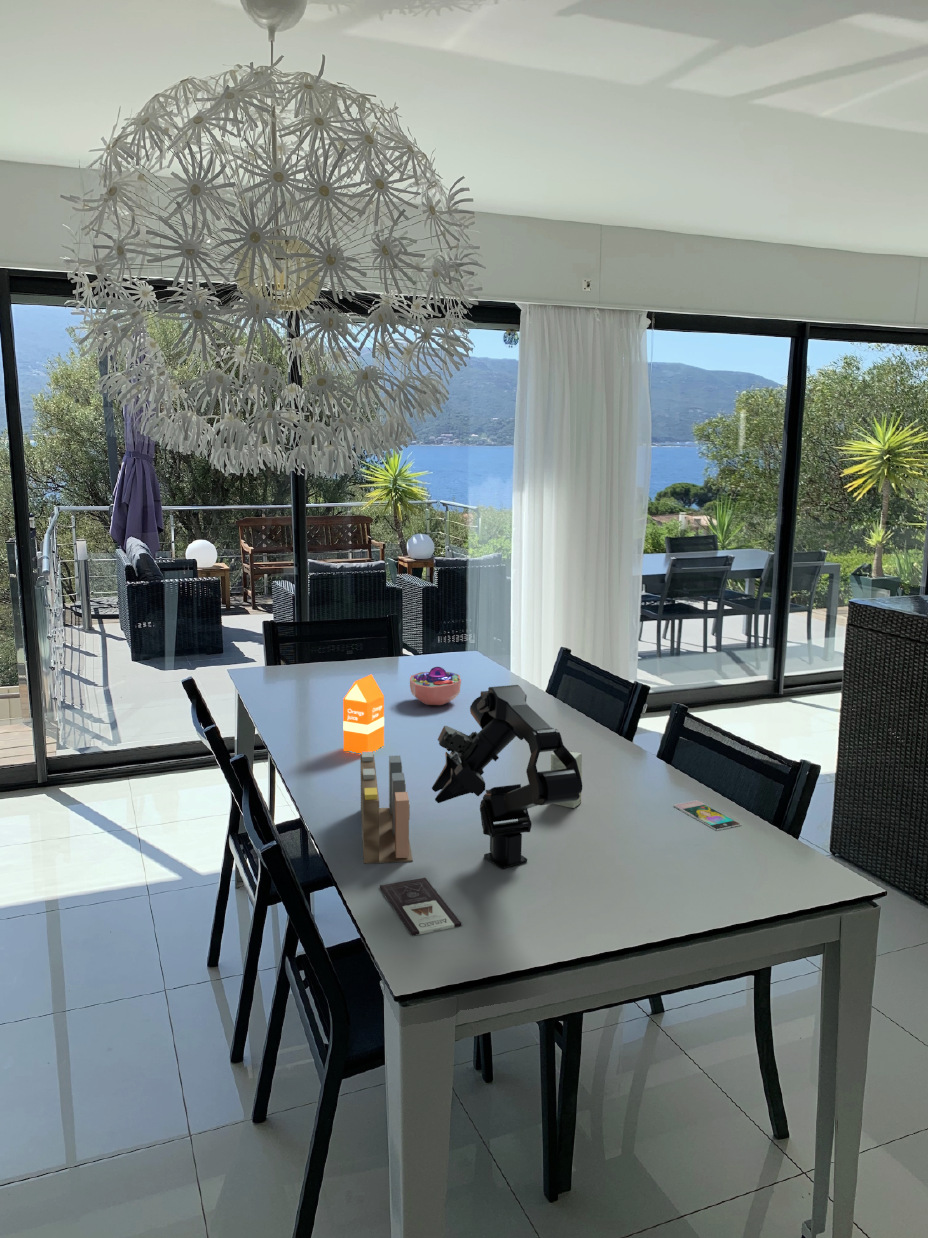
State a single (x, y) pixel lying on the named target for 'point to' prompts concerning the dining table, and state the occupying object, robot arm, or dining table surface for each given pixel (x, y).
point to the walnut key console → (375, 818)
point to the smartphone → (707, 815)
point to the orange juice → (363, 716)
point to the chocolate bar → (419, 906)
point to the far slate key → (394, 767)
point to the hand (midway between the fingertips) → (434, 795)
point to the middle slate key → (397, 786)
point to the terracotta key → (402, 824)
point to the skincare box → (558, 764)
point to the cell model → (435, 686)
